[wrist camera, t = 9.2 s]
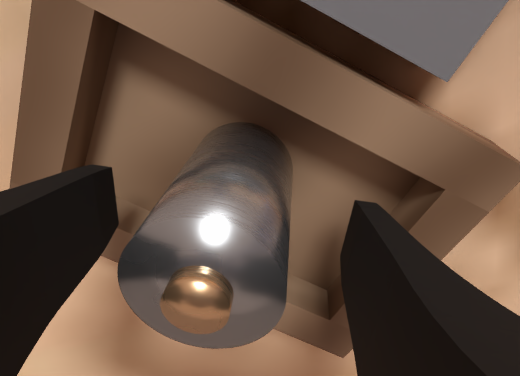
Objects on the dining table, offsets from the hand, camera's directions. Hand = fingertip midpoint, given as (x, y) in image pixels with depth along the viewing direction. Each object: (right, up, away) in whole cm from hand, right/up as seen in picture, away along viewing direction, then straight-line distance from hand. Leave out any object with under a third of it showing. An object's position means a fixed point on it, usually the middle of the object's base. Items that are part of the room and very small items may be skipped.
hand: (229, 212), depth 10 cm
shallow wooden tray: (0, +2, +3) cm, 3 cm away
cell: (0, +1, +2) cm, 3 cm away
